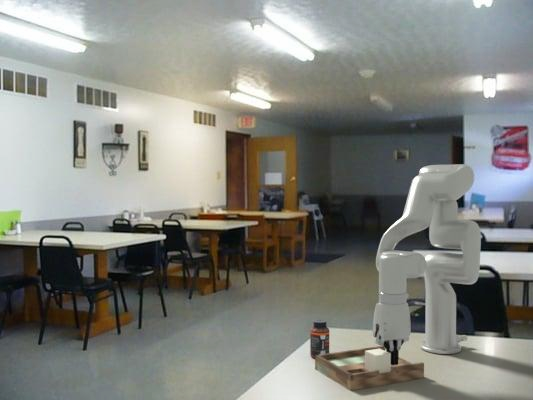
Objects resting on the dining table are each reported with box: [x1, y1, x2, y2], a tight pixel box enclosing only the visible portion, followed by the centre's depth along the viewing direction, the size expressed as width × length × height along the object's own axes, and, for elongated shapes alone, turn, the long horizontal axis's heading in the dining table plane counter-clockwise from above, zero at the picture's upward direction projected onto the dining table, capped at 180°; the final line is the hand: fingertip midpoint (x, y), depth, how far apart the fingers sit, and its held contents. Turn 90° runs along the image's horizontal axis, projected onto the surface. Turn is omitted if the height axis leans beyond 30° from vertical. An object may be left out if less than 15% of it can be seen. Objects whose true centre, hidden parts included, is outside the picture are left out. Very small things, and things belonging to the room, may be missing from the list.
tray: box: [314, 345, 425, 392], centre depth 159 cm, size 24×19×4 cm
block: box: [365, 348, 391, 373], centre depth 154 cm, size 5×5×5 cm
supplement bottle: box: [309, 319, 330, 359], centre depth 174 cm, size 6×6×11 cm
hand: (392, 363), depth 157 cm, fingers closed
